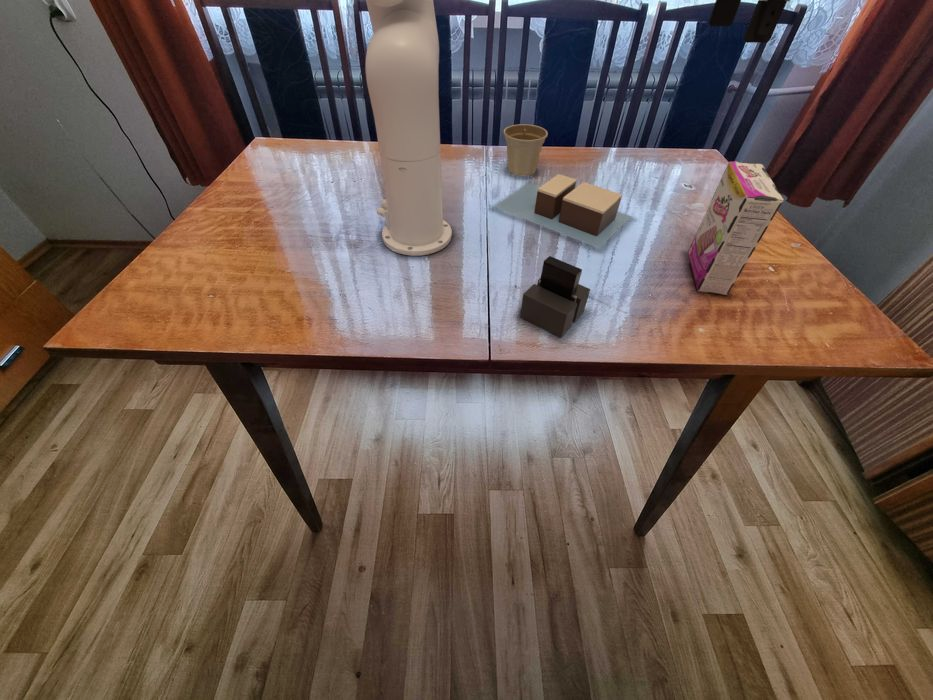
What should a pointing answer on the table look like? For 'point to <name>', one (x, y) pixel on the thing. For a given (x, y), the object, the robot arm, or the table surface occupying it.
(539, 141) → the flower pot
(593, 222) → the cake
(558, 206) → the two-tone brown block
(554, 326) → the knife block
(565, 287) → the knife
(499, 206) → the platter
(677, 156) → the table surface
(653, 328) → the table surface
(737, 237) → the candy bar box
